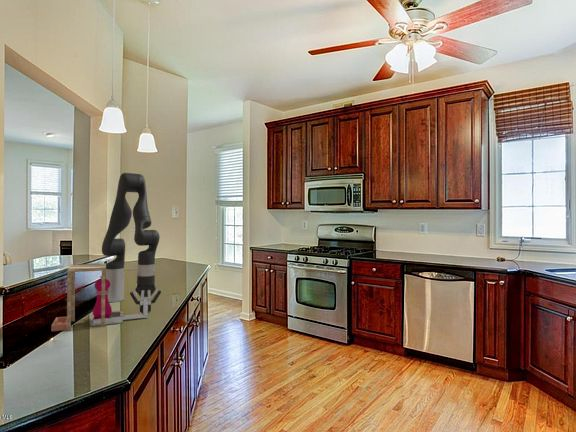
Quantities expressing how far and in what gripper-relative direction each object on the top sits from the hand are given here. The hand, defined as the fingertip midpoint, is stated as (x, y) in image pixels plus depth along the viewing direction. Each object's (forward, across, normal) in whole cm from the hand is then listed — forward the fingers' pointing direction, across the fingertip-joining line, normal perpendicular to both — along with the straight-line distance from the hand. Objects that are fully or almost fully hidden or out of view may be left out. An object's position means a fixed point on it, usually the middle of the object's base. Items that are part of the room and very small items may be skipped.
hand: (145, 312), depth 160 cm
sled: (+2, +10, 0) cm, 10 cm away
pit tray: (+3, +32, 0) cm, 32 cm away
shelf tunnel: (+2, +22, 0) cm, 23 cm away
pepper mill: (+3, +17, 0) cm, 17 cm away
